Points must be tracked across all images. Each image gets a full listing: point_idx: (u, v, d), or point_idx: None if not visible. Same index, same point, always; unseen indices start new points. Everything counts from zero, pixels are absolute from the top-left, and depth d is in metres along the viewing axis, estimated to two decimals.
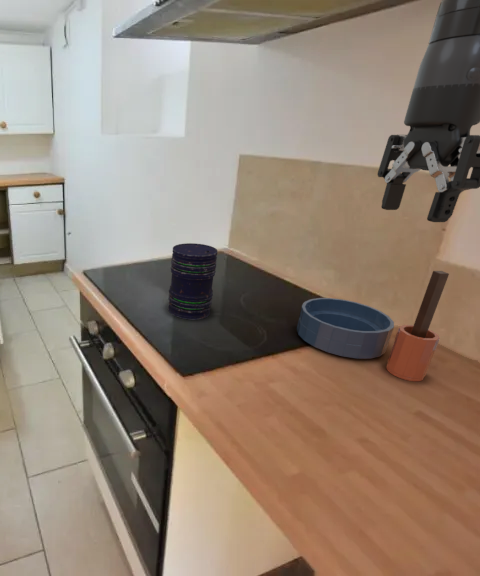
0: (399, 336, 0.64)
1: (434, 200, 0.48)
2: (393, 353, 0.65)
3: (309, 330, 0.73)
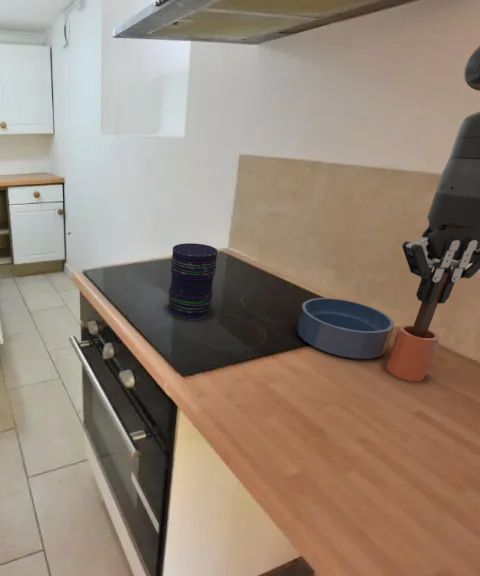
0: (399, 336, 0.64)
1: None
2: (393, 353, 0.65)
3: (309, 330, 0.73)
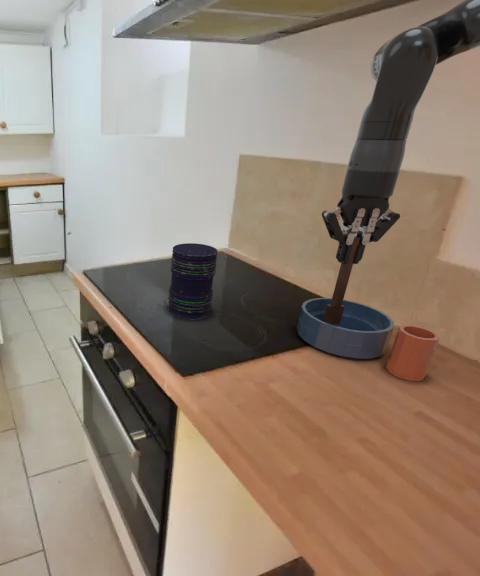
0: (399, 336, 0.64)
1: None
2: (393, 353, 0.65)
3: (309, 330, 0.73)
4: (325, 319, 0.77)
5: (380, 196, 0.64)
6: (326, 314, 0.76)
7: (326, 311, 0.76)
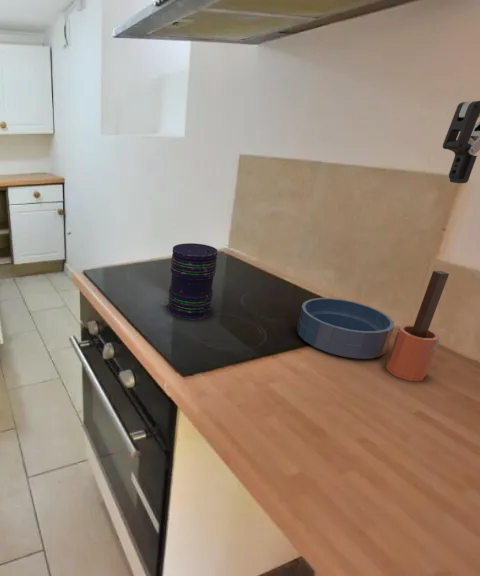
0: (399, 336, 0.64)
1: None
2: (393, 353, 0.65)
3: (309, 330, 0.73)
4: None
5: None
6: None
7: None
